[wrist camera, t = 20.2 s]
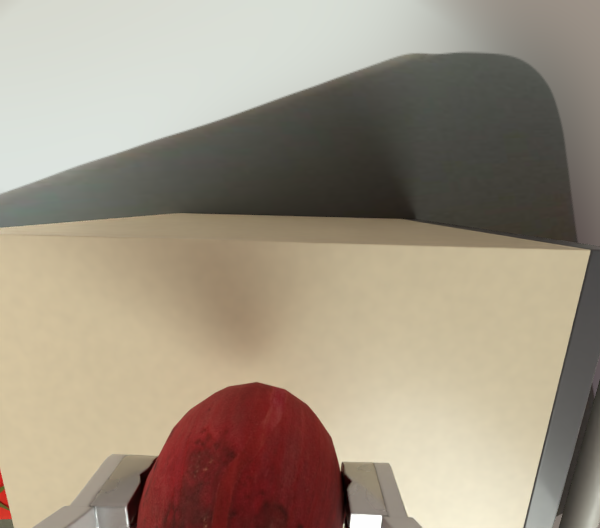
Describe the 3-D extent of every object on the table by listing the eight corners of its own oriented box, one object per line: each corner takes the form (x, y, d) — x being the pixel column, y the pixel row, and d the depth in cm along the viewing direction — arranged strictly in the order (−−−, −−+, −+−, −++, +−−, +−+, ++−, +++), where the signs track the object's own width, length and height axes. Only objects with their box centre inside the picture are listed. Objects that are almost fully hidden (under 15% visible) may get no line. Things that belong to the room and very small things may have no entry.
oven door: (463, 220, 35) (764, 254, 12) (432, 438, 42) (588, 725, 19) (404, 219, 36) (592, 249, 12) (382, 436, 42) (477, 720, 19)
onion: (180, 357, 12) (-60, 660, 4) (316, 330, 12) (342, 605, 4) (218, 470, 13) (91, 871, 5) (342, 449, 13) (404, 843, 5)
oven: (401, 218, 36) (591, 249, 12) (380, 435, 42) (475, 724, 19) (178, 213, 36) (-57, 232, 12) (192, 430, 43) (56, 710, 19)
